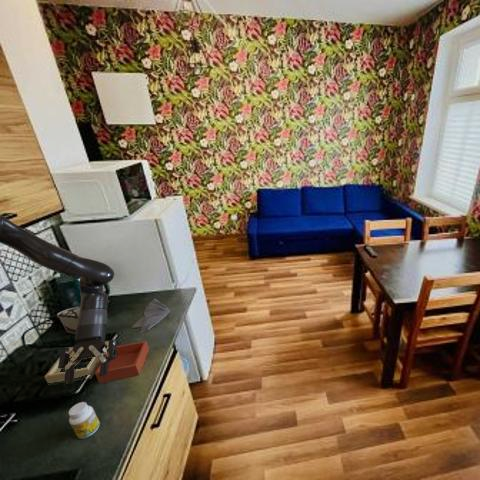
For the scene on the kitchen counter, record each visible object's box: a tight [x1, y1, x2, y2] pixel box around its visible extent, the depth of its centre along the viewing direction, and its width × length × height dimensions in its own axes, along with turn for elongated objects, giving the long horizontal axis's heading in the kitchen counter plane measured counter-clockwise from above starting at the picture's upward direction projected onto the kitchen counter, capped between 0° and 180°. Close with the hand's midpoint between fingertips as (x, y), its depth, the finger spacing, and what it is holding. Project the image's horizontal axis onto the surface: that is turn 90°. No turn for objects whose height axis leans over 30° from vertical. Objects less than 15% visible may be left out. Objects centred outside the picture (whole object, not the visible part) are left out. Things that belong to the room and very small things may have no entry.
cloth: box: [131, 297, 171, 334], centre depth 129 cm, size 26×14×2 cm, turn 12°
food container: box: [56, 306, 80, 335], centre depth 118 cm, size 12×6×10 cm, turn 80°
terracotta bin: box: [94, 340, 150, 384], centre depth 101 cm, size 13×13×5 cm
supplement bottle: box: [68, 401, 101, 439], centre depth 78 cm, size 5×5×10 cm
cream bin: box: [44, 346, 108, 384], centre depth 99 cm, size 13×13×5 cm
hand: (86, 379), depth 81 cm, fingers open, 8 cm apart
